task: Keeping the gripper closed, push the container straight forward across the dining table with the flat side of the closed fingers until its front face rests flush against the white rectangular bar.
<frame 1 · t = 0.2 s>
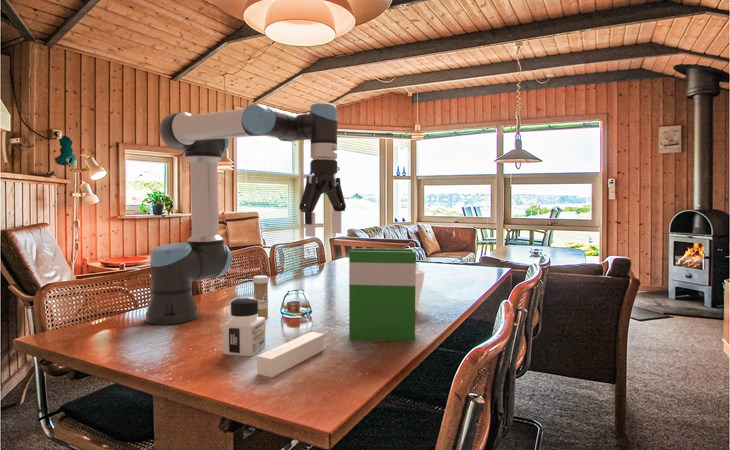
hand: (324, 234, 127), 28 cm above the table, tool pointing down, fingers open, 13 cm apart
cup: (408, 311, 152), on the table
white rectangular bar: (293, 360, 104), on the table
hardback book: (382, 337, 123), on the table
container: (245, 351, 111), on the table
sprinkles bottle: (261, 318, 141), on the table
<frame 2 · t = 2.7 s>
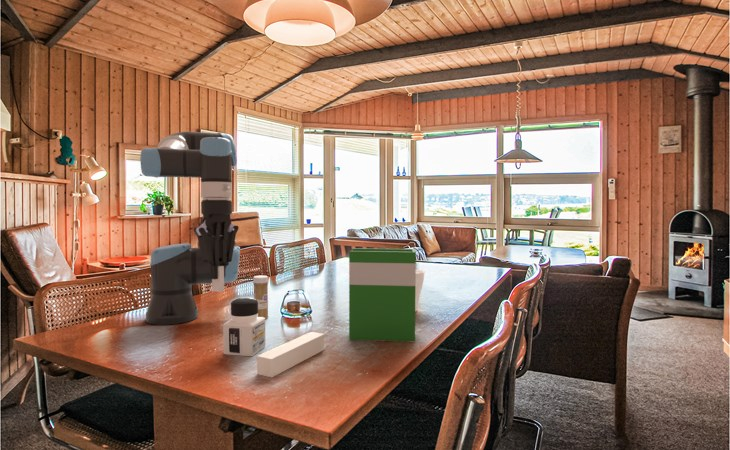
hand: (218, 291, 115), 14 cm above the table, tool pointing down, fingers closed
nothing on the table moved.
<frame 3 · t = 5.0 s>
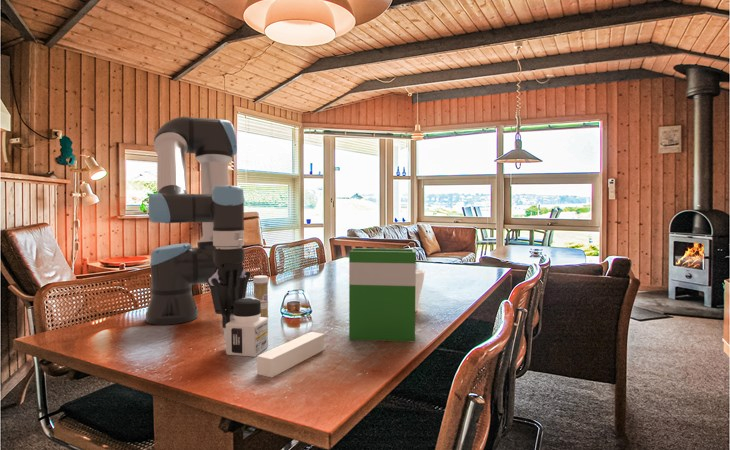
hand: (230, 339, 113), 2 cm above the table, tool pointing down, fingers closed
container: (247, 351, 111), on the table, touching gripper
everything else where it was.
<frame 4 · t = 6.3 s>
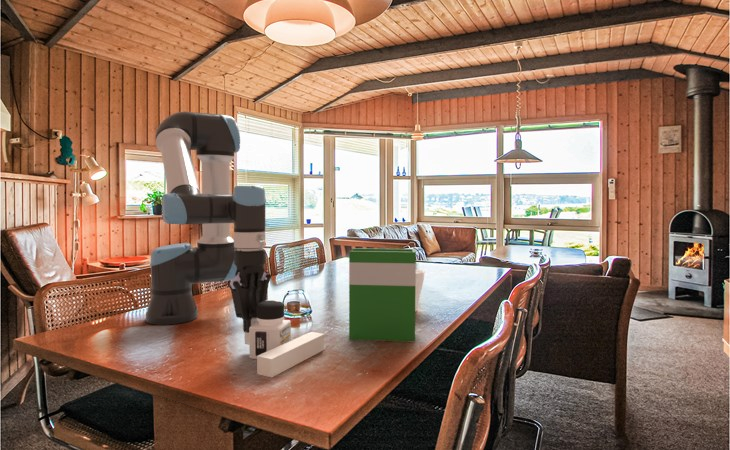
hand: (251, 343, 110), 2 cm above the table, tool pointing down, fingers closed
container: (270, 355, 109), on the table, touching gripper
everything else where it was.
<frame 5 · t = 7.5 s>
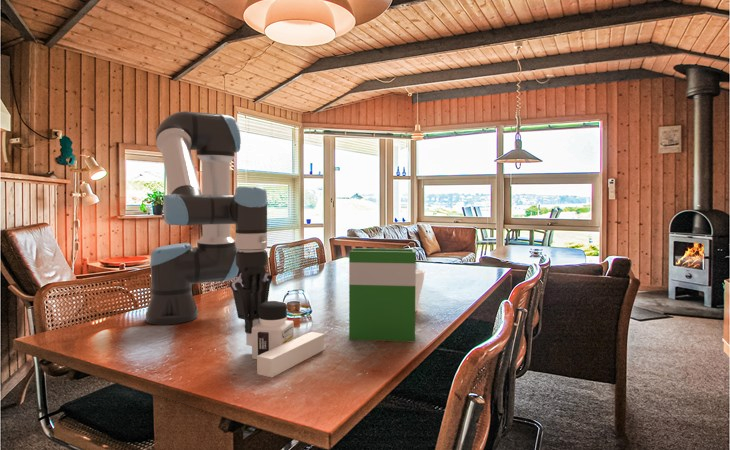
hand: (252, 344, 110), 2 cm above the table, tool pointing down, fingers closed
container: (273, 355, 108), on the table
everything else where it was.
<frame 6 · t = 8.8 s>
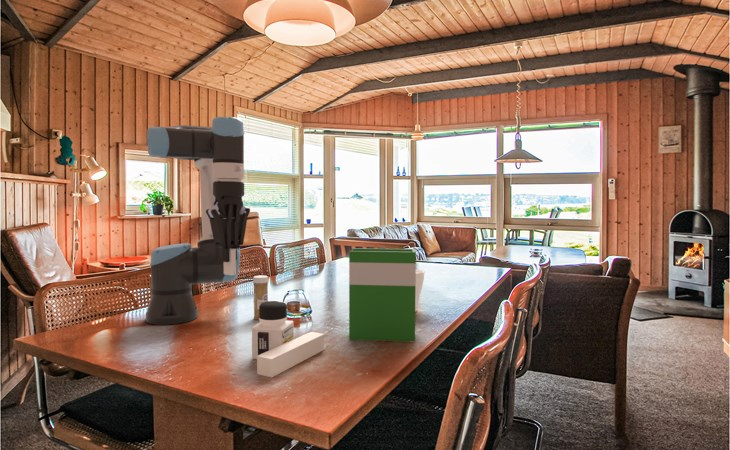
hand: (229, 274, 113), 19 cm above the table, tool pointing down, fingers closed
nothing on the table moved.
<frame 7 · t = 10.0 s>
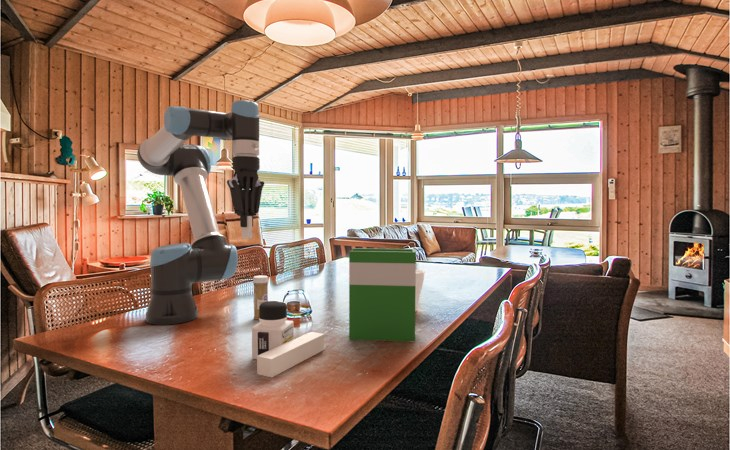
hand: (247, 238, 129), 26 cm above the table, tool pointing down, fingers closed
nothing on the table moved.
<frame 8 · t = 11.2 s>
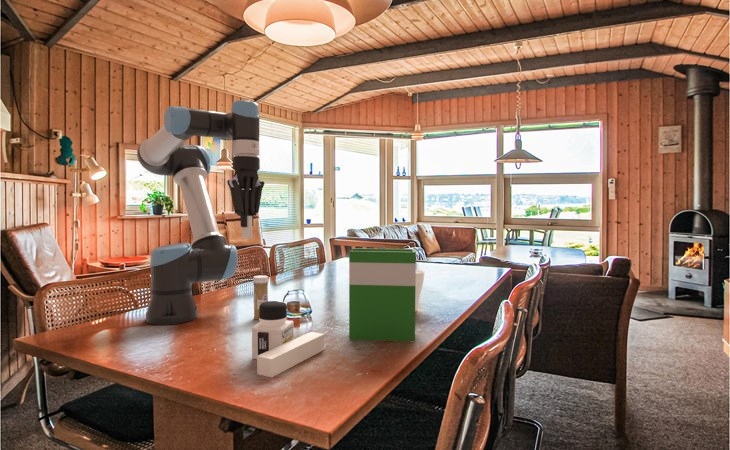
hand: (247, 238, 129), 26 cm above the table, tool pointing down, fingers closed
nothing on the table moved.
at the end: container 1.0 cm from the target spot on the table beside the white rectangular bar, on the table; container tilted 0° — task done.
